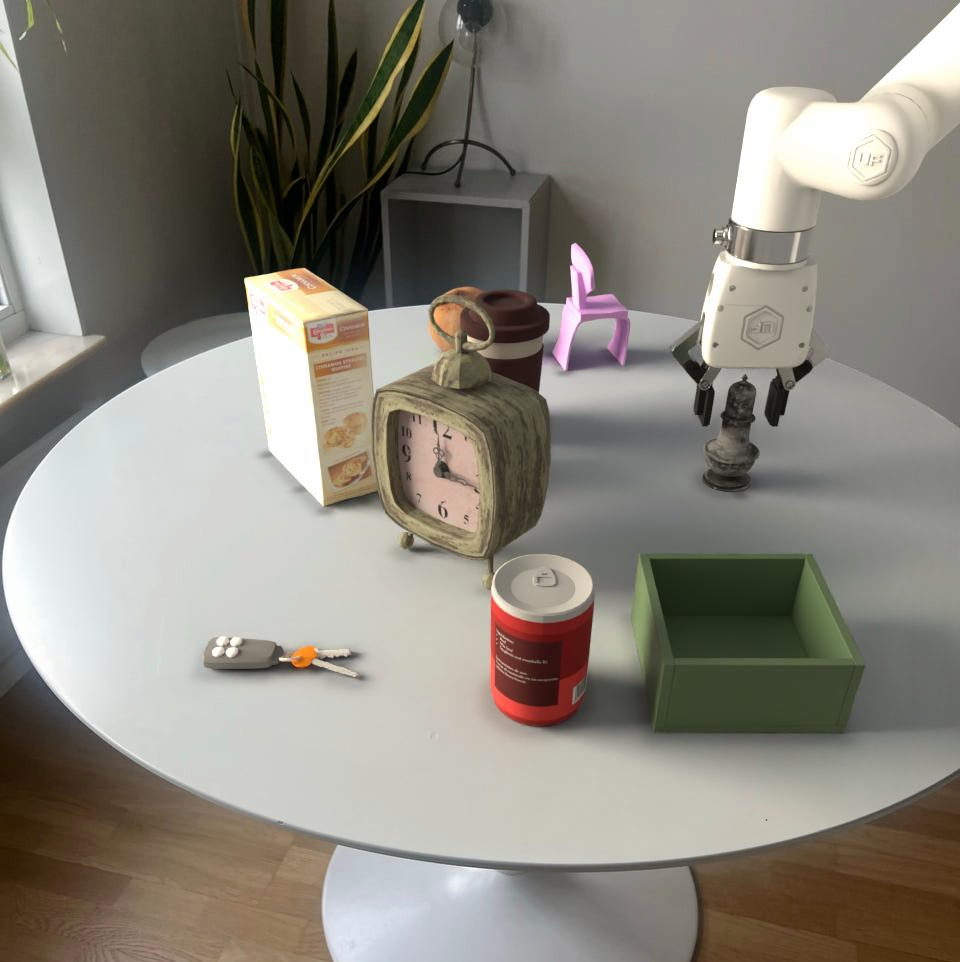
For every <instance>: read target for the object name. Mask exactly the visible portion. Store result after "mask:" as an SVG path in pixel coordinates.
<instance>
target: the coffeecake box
mask: <svg viewBox="0 0 960 962" xmlns="http://www.w3.org/2000/svg"><path fill="white" fill-rule="evenodd" d="M244 285H245V286H244V287H245V291H246V299H247V306H248V312H249V319H250V326H251V332H252V340H253V347H254V353H255V354H254V355H255V361H256V367H257V373H258V375H257V376H258V382H259V389H260V395H261V401H262V407H263V414H264V421H265V429H266V436H267V442H268V443H267V444H268V450H269V451H270V453H272V455H273V456H274V457H275V458H276V459H277V460H278V461H279V462H280V463H281V464H282V465H283V466H284V467H285V468H286V469H287V471H289V472H290V474H292V475H293V477H294V478H295V479H296V480H297V481H298V482H299V483H300V484H301V485H302V486H303V487H304V488H305V489H306V490H307V491H308V493H310V494H311V495H312V496H313V497H314V499H316V500H317V501H318V503H320V504H321V505H322V507H326V506H329V505H333V504H336V503H339V502H343V501H346V500H350V499H353V498H357V497H361V496H365V495H369V494H372V493H375V492H378V488H377V483H376V477H375V469H374V462H373V454H372V422H371V419H372V406H373V400H374V397H375V394H374V380H373V366H372V353H371V351H372V350H371V339H370V337H371V336H370V325H369V322H370V321H369V308H367V307H365V306H364V305H362V304H361V303H359V302H357V301H356V300H355V299H353V298H352V297H350V296H349V295H347V294H345V293H344V292H342V291H340V290H339V289H338V288H336V287H335V286H333V285H331V284H330V283H329V282H327V281H326V280H324V279H322V278H321V277H319V276H318V275H316V274H315V273H314V272H312V271H310V270H309V269H307V268H305V267H299V268H293V269H286V270H281V271H276V272H272V273H267V274H261V275H255V276H249V277H244Z"/></svg>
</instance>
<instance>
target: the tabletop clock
mask: <svg viewBox="0 0 960 962" xmlns="http://www.w3.org/2000/svg"><path fill="white" fill-rule="evenodd" d="M444 294H445V293H444ZM444 294H442V295H439V296H437V297H436V298H435V299H434V300H432V302H431V303H430V306H429V308H428V322H429V321H430V323H431V326H432V328H433V329H434V331H435V332H436V334H437V335H438V336H440V337H441V338H442V339H443V340H444V341H446V342H447V343H449V344H451V345H453V346H455V349H451V350H448V351H446V352H442V353H441V355H439V356H438V358H437V360H436V361H435V362H434V363H431V364H429V365H427V366H425V367H423V368H420V369H419V370H416V371H414V372H412V373H410V374H408V375H405V376H403V377H401V378H399V379H396V380H394V381H392V382H390V383H388V384H385V385H384V386H381V387H379V388H377V389H376V390H375V394H374V400H373V406H372V419H371V422H372V454H373V462H374V469H375V477H376V483H377V488H378V491H377V492H378V495H379V496H378V497H379V500H380V503H381V506H382V508H383V511H384V514H385V515H386V516H387V517H388V518H389V519H390V520H391V521H392V522H393V523H394V524H396V525H397V526H398V527H400V528H401V529H403V530H405V531H404V532H402V533H401V532H400V534H399V536H398V538H397V544H398V546H399V547H400V548H401V549H403V550H408V549H410V548H412V547H414V544H415V537H417V538H419V539H421V540H423V541H424V542H426V543H427V544H430V545H432V546H433V547H436V548H438V549H441V550H444V551H446V552H449V553H450V554H451V553H452V554H453V555H457V556H458V557H462V558H464V559H468V560H472V561H485V565H486V570H487V573H485V574H484V576H483V577H482V585H483V587H484V588H485V590H488V591H489V590H490V591H491V587H492V580H493V576H494V574H495V573H496V572H494V558H495V554H497V553H498V552H499V551H501V550H503V549H504V548H505V547H507V546H508V545H510V544H512V543H513V542H514V541H516V540H517V539H518V538H520V537H522V536H523V535H525V534H526V533H528V532H529V531H531V530H532V529H534V528H535V527H536V526H537V524H538V522H539V521H540V519H541V517H542V512H543V511H544V506H545V503H546V499H547V495H548V489H549V482H550V481H549V480H550V470H551V463H552V462H551V461H552V460H551V459H552V424H551V413H550V409H549V406H548V405H549V404H548V402H547V398H545V397H544V396H543V395H542V394H541V393H540V392H539V393H538V392H537V391H535V390H534V389H532V388H530V387H528V386H526V385H523V384H521V383H518V382H516V381H513V380H511V379H508V378H506V377H503V376H501V375H498V374H495V373H492V371H491V368H490V365H489V363H488V362H487V360H486V358H485V357H483V356H482V355H481V354H480V353H479V352H477V351H480V350H485V349H486V348H488V347H489V346H490V345H491V344H492V343H493V340H494V337H495V329H494V325H493V322H492V319H491V318H490V316H489V315H488V313H487V312H486V311H485V310H484V309H483V308H482V307H481V306H480V305H479V304H478V303H476V302H474V301H472V300H470V299H468V298H466V297H462V296H459V295H453V294H445V295H444ZM446 302H447V303H455V304H459V305H462V306H465V307H467V308H470V309H472V310H474V311H475V312H476V313H478V314H479V315H480V316H481V317H482V319H483V320H484V321H485V323H486V325H487V327H488V329H489V334H490V335H489V338H488V340H487V341H485V342H483V343H472V342H469V341H467V332H466V331H464V330H458V331H457V332H456V333H455V337H453V336H451V335H449V334H448V333H446V332H445V331H443V330H442V329H441V328H440V327H439V326H438V325H437V324H436V322H435V319H434V311H435V309H436V308H437V307H438V306H439V305H440V304H442V303H446ZM414 536H415V537H414Z"/></svg>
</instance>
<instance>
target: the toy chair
mask: <svg viewBox="0 0 960 962" xmlns="http://www.w3.org/2000/svg"><path fill="white" fill-rule="evenodd" d="M570 258H571V263H572V265H570V266H569V267H570V279H571V296H569V297H568V296H567V297H566V302H565V305H564V306H563V309H562V313H561V323H560V330H559V334H558V336H557V337H558V338H557V340H556V343H555V345H554V347H553V349H552V355H553V356H554V358H555V359H556V360H557V362H558V363H559V365H560V366H561V368H562V369H563V370H564V371H565V372H566V371H568V369H569V361H570V355H571V349H572V345H573V341H574V338H575V336H576V333H577V331H578V329H579V327H580V325H582V324H583V323H586V322H591V321H597V320H604V319H605V320H606V319H614V320H615V327H614V331H613V335H612V337H611V339H610V342H609V343H608V346H607V349H608V351H609V352H610V353H611V354H612V355H613V357H614V358H615V359H616V361H618V363H619V364H620V365H621V366H625V365H626V359H627V352H628V344H629V338H630V332H631V319H630V318H629V316H628V315H629V310H628V308H627V307H625V306H624V304H622V303H621V302H620V301H619V300H618V299H617V297H616V296H615V295H614V294H613V293H608V294H600V295H599V294H598V295H592V296H588V294H590V293H592V292H593V291H595V290H596V284H595V283H596V282H595V272H594V266H593V264H592V262H591V260H590V258H589V256H588V255H587V253H586V252H585V251H584V250H583V249H582V247H581V246H580V245H578V244H577V242H574V243H572V244H571V247H570Z"/></svg>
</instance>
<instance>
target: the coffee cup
mask: <svg viewBox="0 0 960 962" xmlns="http://www.w3.org/2000/svg"><path fill="white" fill-rule="evenodd" d="M474 302H476V303H478V304H479V305H480V306H481V307H482V308H483V309H484V310H485V311H486V312H487V313H488V315H489V316H490V318H491V319H492V322H493V325H494V329H495V337H494V340H493V343H492V344H491V345H490V346H489V347H488V348H486V349H485V350H480V351H477V352H479V353H480V354H481V355H482V356H483V357H485V358H486V360H487V362H488V363H489V365H490V368H491V371H492V373H495V374H498V375H501V376H503V377H506V378H508V379H511V380H513V381H516V382H518V383H521V384H523V385H526V386H528V387H530V388H532V389H534V390H535V391H537V392H538V393H539V394H540V388H541V378H542V370H543V360H544V352H545V345H544V342H543V341H544V336H545V335H546V334H547V333H548V331H549V329H550V321H551V314H550V312H549V310H548V309H547V308H545V307H544V306H543V305H541V304H538V301H537V299H536V297H534V295H532V294H531V293H528V292H525V291H522V290H517V289H493V290H488V291H484V293H481V294H480V295H478V296H477V297H476V298H475V299H474ZM460 327H461V330H464V331H466V332H467V341H469V342H472V343H483V342H485V341H487V340H488V338H489V335H490V334H489V329H488V327H487V325H486V323H485V321H484V320H483V319H482V317H481V316H480V315H479V314H478V313H476V312H475V311H474V310H472V309H470V308H467V307H465V308H464V309H463V310H462V311H461V314H460Z"/></svg>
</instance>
